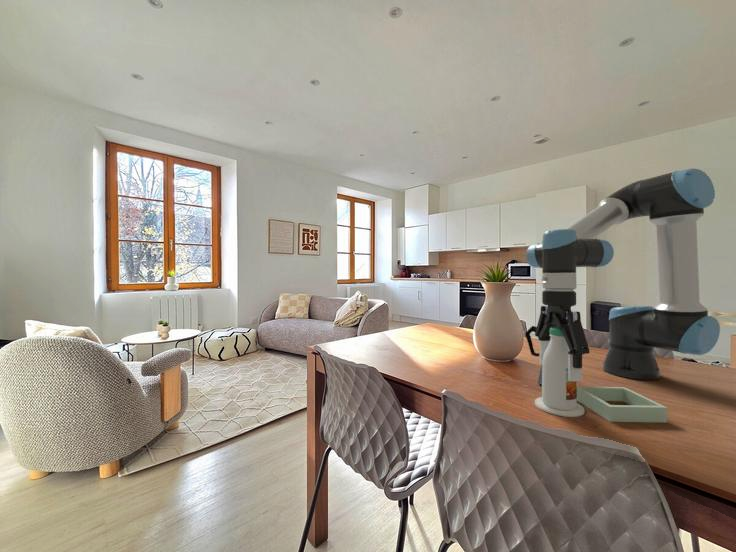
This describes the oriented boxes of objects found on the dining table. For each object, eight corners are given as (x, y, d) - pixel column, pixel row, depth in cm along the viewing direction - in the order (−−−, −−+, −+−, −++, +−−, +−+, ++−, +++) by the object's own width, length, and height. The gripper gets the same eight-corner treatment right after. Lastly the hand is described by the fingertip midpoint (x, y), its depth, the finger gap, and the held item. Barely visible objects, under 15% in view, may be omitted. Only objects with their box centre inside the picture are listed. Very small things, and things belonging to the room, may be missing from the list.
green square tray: (624, 399, 86) (624, 387, 86) (667, 422, 73) (667, 407, 73) (575, 399, 86) (575, 386, 86) (609, 421, 74) (609, 406, 73)
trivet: (568, 399, 87) (568, 397, 87) (594, 417, 76) (595, 415, 76) (527, 398, 87) (527, 396, 87) (548, 416, 76) (548, 414, 76)
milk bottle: (554, 412, 77) (556, 331, 77) (535, 399, 85) (536, 325, 84) (584, 410, 78) (585, 330, 77) (562, 398, 86) (563, 325, 85)
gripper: (522, 287, 94) (522, 358, 94) (573, 293, 69) (573, 389, 69) (548, 287, 93) (548, 358, 94) (608, 293, 68) (608, 390, 69)
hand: (558, 371), depth 81 cm, fingers open, 13 cm apart
